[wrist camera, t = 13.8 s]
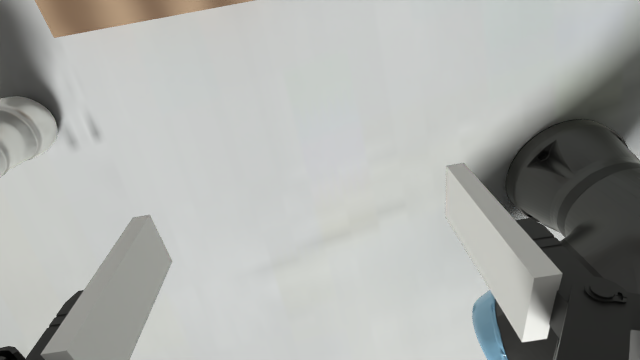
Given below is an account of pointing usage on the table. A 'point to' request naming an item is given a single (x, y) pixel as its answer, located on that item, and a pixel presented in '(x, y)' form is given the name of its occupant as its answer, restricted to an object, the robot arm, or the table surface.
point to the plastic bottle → (24, 131)
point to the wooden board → (114, 12)
